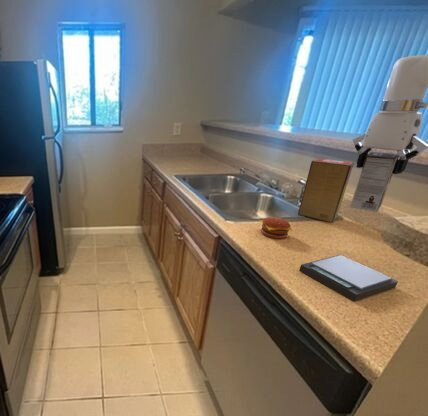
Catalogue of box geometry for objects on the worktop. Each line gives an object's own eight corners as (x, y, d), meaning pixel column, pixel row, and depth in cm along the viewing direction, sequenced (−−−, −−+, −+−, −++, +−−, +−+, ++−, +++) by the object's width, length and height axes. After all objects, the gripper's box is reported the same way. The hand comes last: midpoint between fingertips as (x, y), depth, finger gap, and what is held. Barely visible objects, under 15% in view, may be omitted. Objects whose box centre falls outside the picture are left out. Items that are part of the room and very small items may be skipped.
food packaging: (337, 217, 122) (355, 161, 113) (333, 223, 116) (351, 165, 108) (302, 209, 132) (316, 157, 123) (296, 214, 126) (310, 160, 117)
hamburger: (293, 239, 103) (297, 223, 101) (266, 239, 104) (270, 223, 102) (280, 228, 112) (283, 214, 110) (255, 228, 113) (258, 213, 110)
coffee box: (354, 200, 90) (370, 151, 84) (381, 205, 85) (400, 153, 80) (349, 207, 84) (365, 155, 78) (377, 212, 80) (397, 157, 74)
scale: (395, 287, 76) (399, 279, 75) (354, 301, 71) (357, 292, 70) (337, 260, 89) (339, 253, 88) (299, 270, 84) (301, 262, 83)
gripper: (454, 106, 68) (426, 175, 74) (371, 107, 83) (353, 163, 89) (435, 107, 66) (408, 178, 72) (353, 107, 81) (337, 165, 87)
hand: (378, 169), depth 81 cm, fingers closed on coffee box, 8 cm apart
